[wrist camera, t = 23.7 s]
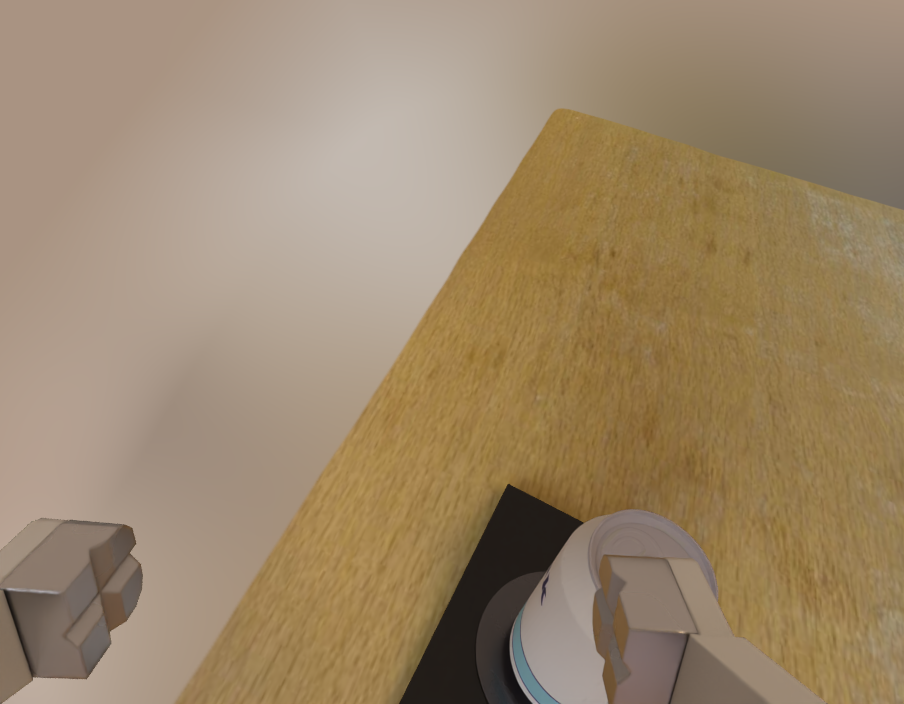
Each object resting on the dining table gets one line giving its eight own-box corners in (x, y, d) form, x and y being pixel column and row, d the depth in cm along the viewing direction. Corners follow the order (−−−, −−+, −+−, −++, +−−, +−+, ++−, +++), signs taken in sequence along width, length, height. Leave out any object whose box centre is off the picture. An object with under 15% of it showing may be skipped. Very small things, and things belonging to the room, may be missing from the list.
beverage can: (555, 575, 36) (629, 469, 28) (647, 667, 33) (761, 579, 25) (480, 654, 32) (540, 558, 24) (576, 766, 29) (684, 700, 21)
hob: (633, 937, 27) (652, 937, 25) (369, 764, 29) (372, 756, 28) (692, 593, 39) (708, 580, 37) (503, 494, 42) (510, 478, 40)
